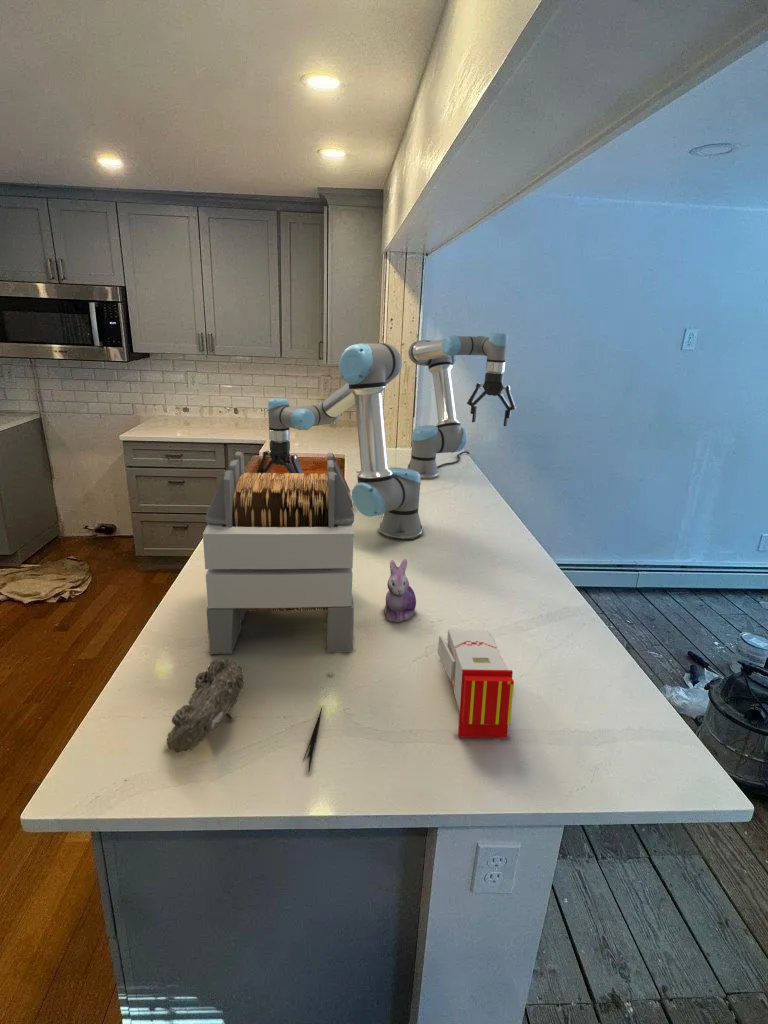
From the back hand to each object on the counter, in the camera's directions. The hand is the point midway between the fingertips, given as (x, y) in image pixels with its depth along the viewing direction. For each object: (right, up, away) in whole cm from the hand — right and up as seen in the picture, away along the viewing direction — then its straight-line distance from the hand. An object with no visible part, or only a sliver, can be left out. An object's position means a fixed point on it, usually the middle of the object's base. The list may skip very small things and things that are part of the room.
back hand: (489, 423), depth 240 cm
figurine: (-40, -64, -92) cm, 119 cm away
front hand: (-84, -31, -21) cm, 92 cm away
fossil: (-77, -76, -132) cm, 171 cm away
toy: (-27, -75, -121) cm, 145 cm away
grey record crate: (-70, -64, -96) cm, 135 cm away
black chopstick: (-57, -77, -131) cm, 162 cm away
